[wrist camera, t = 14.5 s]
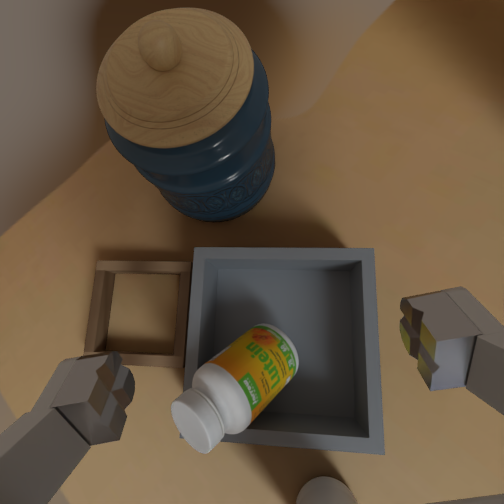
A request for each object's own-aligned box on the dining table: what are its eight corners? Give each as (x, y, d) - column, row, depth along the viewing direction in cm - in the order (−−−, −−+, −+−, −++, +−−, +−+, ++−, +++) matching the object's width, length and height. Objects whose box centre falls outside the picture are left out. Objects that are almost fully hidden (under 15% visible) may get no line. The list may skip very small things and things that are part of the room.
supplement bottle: (312, 362, 25) (230, 455, 19) (279, 384, 29) (200, 470, 22) (268, 310, 27) (176, 380, 20) (242, 338, 30) (156, 405, 24)
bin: (358, 262, 31) (374, 248, 26) (365, 428, 28) (384, 454, 22) (211, 260, 33) (194, 247, 27) (201, 416, 30) (179, 438, 24)
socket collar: (196, 265, 33) (191, 261, 31) (189, 365, 31) (182, 367, 29) (107, 264, 35) (97, 260, 33) (94, 360, 32) (82, 362, 30)
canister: (140, 177, 37) (8, 47, 20) (217, 99, 38) (156, -87, 21) (219, 249, 34) (145, 170, 16) (300, 162, 35) (309, 4, 18)
